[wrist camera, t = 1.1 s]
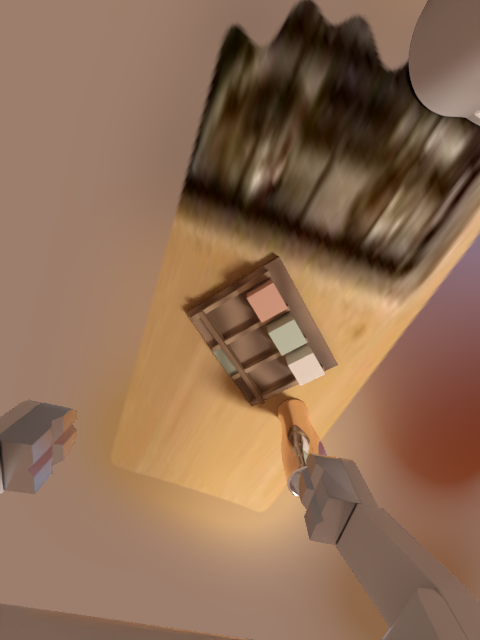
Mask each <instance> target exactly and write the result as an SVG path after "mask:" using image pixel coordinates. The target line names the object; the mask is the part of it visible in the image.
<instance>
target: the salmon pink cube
mask: <svg viewBox="0 0 480 640" xmlns="http://www.w3.org/2000/svg"><path fill="white" fill-rule="evenodd" d="M247 300H248V301H249V303H250V305H251V306H252V308H253V309H254V311H255V313H256V314H257V316H258V318H259V319H260V321H261V323H262V322H264V321H266V320H268V319H270V318H272V317H273V316H275V315H277V314H279V313H281V312H282V311H284V310H286V309H288V308H287V306H286V304H285V302H284V301H283V299H282V297H281V295H280V293H279V292H278V290H277V288H276V286H275V285H274V283H273V281H272V279H269V280H267V281H266V282H264V283H262V284H261V285H259V286H257V287H256V288H254V289H252V290H251V291H249V292H247Z"/></svg>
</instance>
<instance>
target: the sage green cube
mask: <svg viewBox="0 0 480 640" xmlns="http://www.w3.org/2000/svg"><path fill="white" fill-rule="evenodd" d="M267 330H268V334H269V336H270V337H271V339H272V340H273V342H274V344H275V345H276V347H277V349H278V350H279V352H280V353H281V355H282V356H283V355H285V354H287V353H288V352H290V351H292V350H294V349H296V348H298V347H300V346H302V345H304V344H306V343H307V341H306V339H305V337H304V336H303V334H302V332H301V330H300V329H299V327H298V325H297V323H296V322H295V320H294V318H293V316H292V315H291V313H290V312H289V313H287V314H285V315H283V316H281V317H279V318H278V319H276V320H274V321H272V322H270V323H269V324H267Z"/></svg>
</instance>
